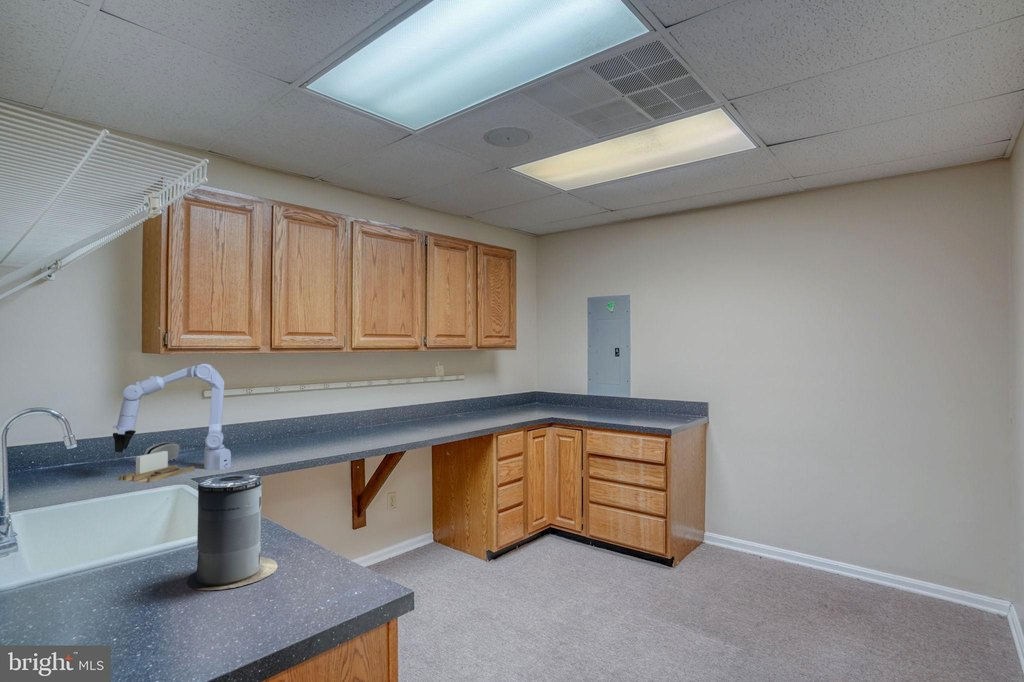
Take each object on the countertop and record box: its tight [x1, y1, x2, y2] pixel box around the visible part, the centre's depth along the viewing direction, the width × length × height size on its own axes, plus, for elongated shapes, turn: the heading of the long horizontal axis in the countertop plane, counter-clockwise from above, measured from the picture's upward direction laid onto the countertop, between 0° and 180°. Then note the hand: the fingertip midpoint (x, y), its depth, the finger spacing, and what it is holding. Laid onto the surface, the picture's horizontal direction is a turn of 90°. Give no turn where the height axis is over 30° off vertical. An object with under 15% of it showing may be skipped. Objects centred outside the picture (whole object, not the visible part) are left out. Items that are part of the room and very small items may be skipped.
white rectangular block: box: [135, 451, 169, 475], centre depth 204 cm, size 2×12×8 cm, turn 167°
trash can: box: [186, 474, 278, 591], centre depth 115 cm, size 17×18×21 cm
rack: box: [118, 464, 195, 483], centre depth 203 cm, size 14×20×3 cm
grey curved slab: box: [143, 441, 181, 462], centre depth 230 cm, size 17×5×10 cm, turn 171°
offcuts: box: [151, 467, 180, 477], centre depth 202 cm, size 4×10×2 cm, turn 167°
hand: (120, 450), depth 202 cm, fingers open, 7 cm apart
